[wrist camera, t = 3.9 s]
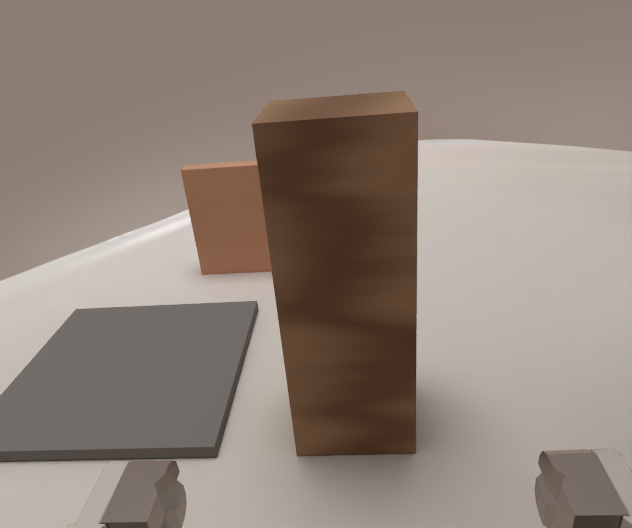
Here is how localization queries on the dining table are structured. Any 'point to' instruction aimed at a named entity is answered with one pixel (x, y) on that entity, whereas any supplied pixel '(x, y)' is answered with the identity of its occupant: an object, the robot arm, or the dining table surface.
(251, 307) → the rest mat
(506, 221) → the dining table surface
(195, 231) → the tile
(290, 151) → the tall wooden block
